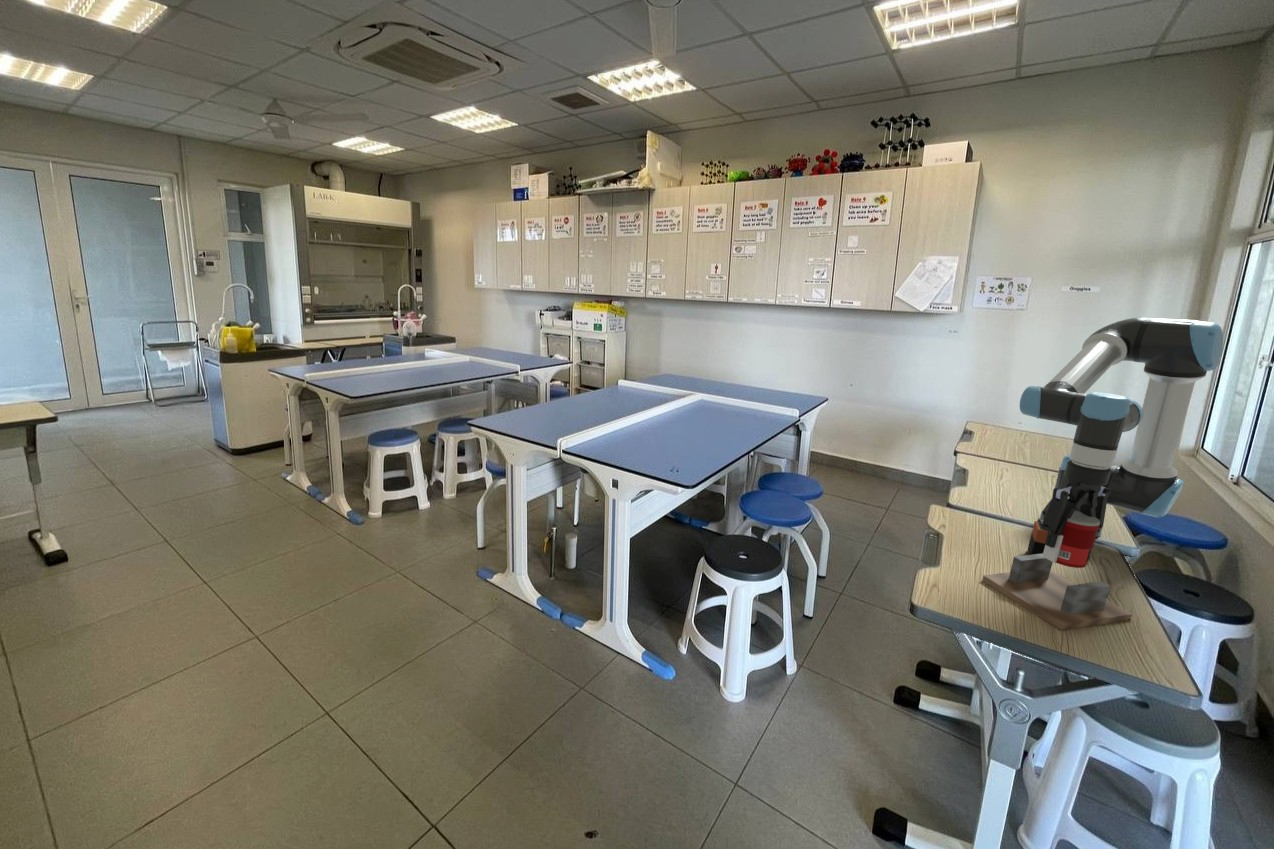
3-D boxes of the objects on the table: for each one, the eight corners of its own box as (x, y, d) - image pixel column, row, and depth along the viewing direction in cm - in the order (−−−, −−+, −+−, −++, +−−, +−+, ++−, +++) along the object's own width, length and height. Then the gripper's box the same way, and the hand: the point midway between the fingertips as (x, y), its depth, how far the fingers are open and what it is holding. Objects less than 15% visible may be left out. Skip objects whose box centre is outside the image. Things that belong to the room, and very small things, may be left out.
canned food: (1095, 571, 119) (1108, 525, 116) (1054, 565, 121) (1066, 520, 118) (1075, 554, 126) (1087, 511, 123) (1037, 549, 128) (1048, 507, 125)
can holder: (1045, 572, 139) (1052, 546, 137) (1130, 619, 120) (1140, 590, 118) (982, 580, 134) (988, 553, 132) (1061, 630, 115) (1069, 599, 113)
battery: (1046, 554, 148) (1054, 521, 146) (1049, 565, 143) (1058, 530, 140) (1026, 550, 150) (1035, 517, 148) (1029, 560, 145) (1038, 526, 142)
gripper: (1106, 456, 124) (1081, 546, 130) (1036, 460, 119) (1013, 553, 125) (1143, 467, 117) (1114, 561, 123) (1070, 471, 112) (1044, 570, 118)
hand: (1063, 557), depth 124 cm, fingers closed on canned food, 8 cm apart
